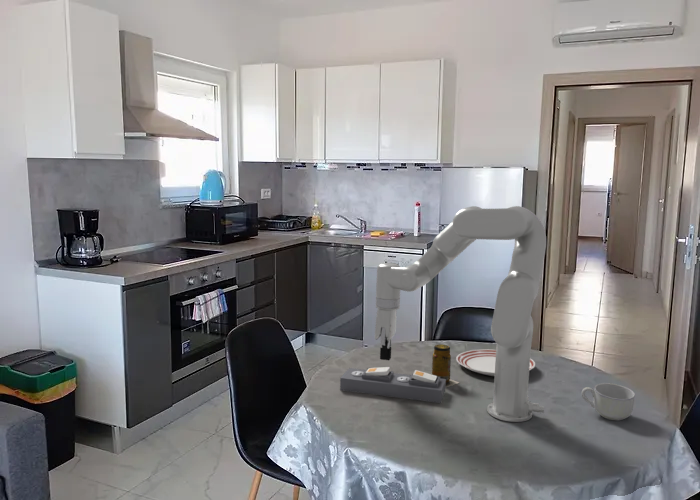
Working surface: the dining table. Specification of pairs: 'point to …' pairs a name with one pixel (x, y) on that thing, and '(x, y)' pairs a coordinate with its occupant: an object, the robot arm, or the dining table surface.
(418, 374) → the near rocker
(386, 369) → the far rocker
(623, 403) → the teacup
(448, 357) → the condiment
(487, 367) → the dinner plate
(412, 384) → the rocker switch panel
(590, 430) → the dining table surface
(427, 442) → the dining table surface
